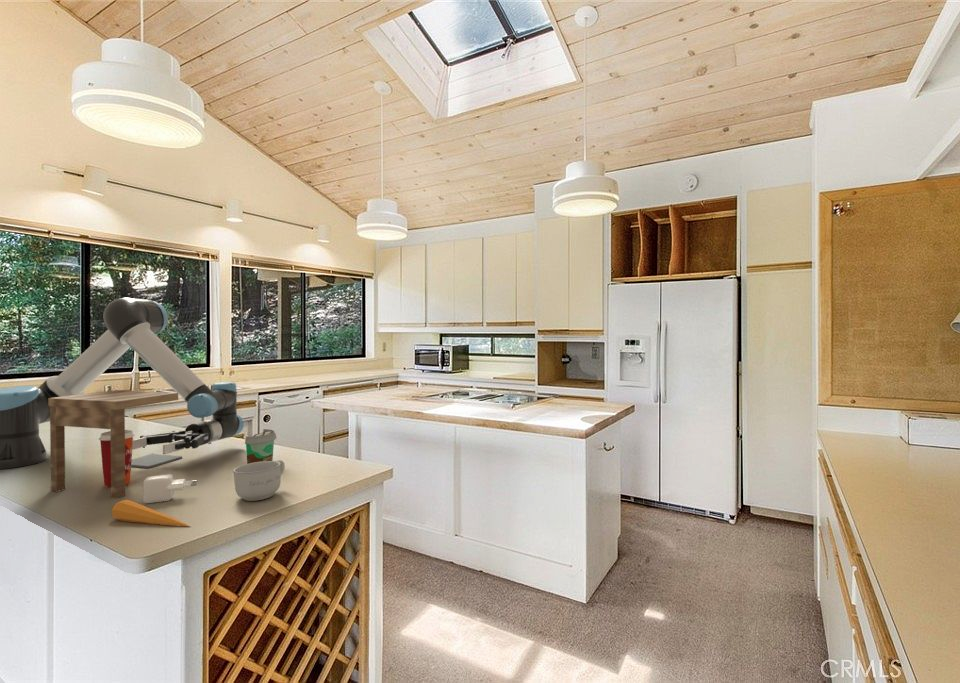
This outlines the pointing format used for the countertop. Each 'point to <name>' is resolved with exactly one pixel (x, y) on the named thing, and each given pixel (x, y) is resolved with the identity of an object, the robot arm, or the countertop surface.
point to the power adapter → (163, 487)
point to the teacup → (258, 479)
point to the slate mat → (153, 460)
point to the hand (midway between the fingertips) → (144, 448)
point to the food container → (260, 446)
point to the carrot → (141, 514)
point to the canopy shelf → (101, 414)
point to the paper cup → (106, 456)
